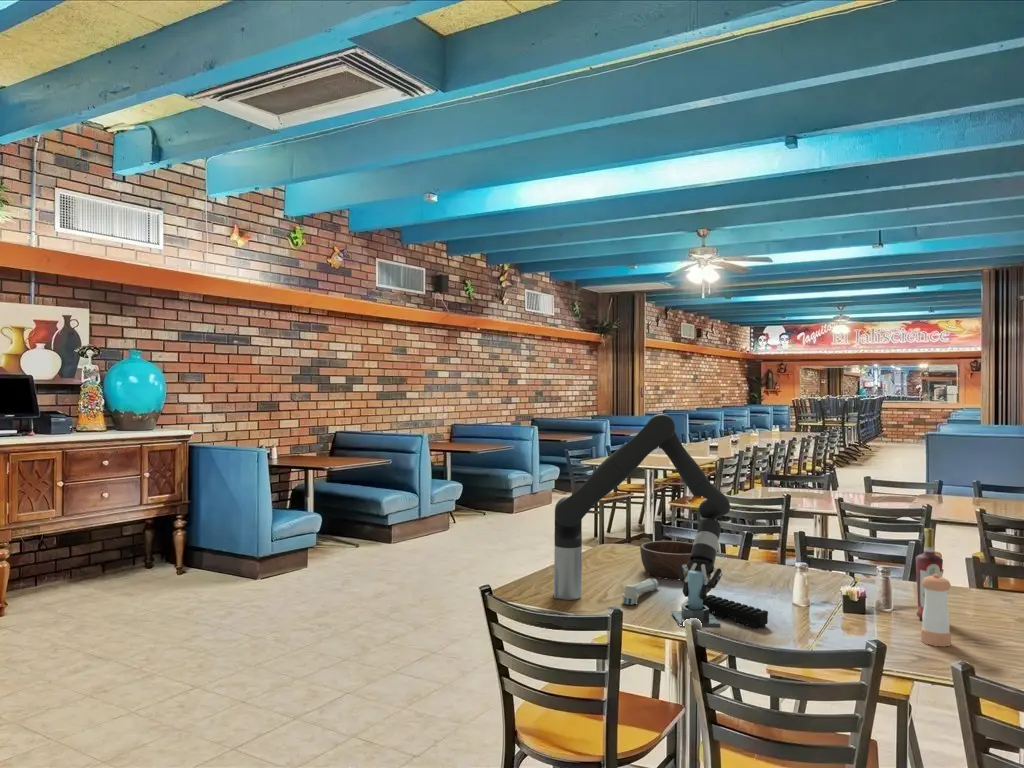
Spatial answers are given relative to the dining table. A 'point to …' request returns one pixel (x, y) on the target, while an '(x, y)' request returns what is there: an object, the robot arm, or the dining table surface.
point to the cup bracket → (696, 616)
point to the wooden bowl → (665, 557)
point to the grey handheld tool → (638, 590)
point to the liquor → (926, 567)
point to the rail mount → (736, 611)
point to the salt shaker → (936, 612)
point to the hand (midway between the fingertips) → (693, 596)
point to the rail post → (695, 590)
